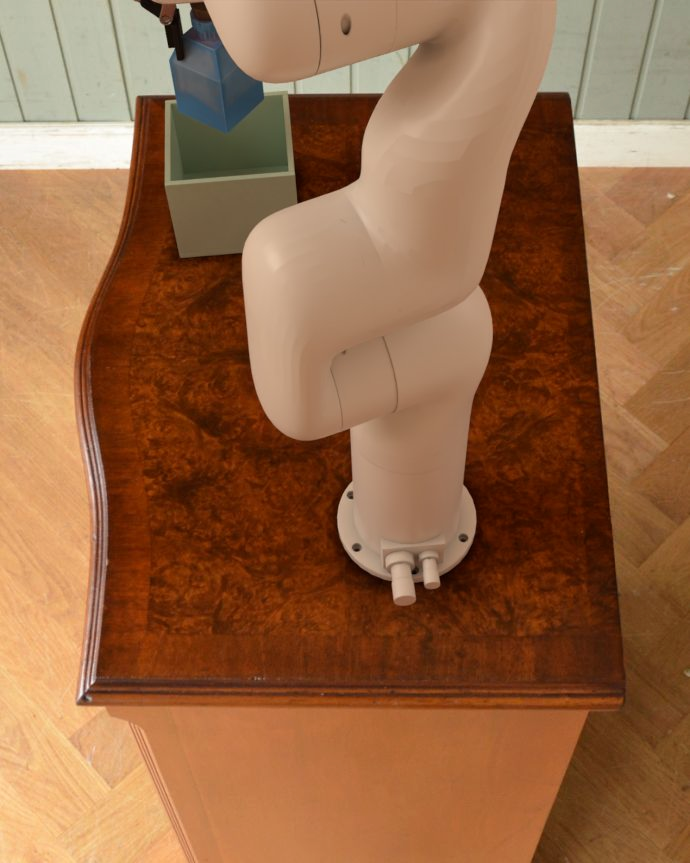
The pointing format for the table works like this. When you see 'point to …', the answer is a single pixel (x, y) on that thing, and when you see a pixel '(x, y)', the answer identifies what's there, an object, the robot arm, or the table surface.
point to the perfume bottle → (211, 77)
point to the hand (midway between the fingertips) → (213, 47)
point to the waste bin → (227, 176)
